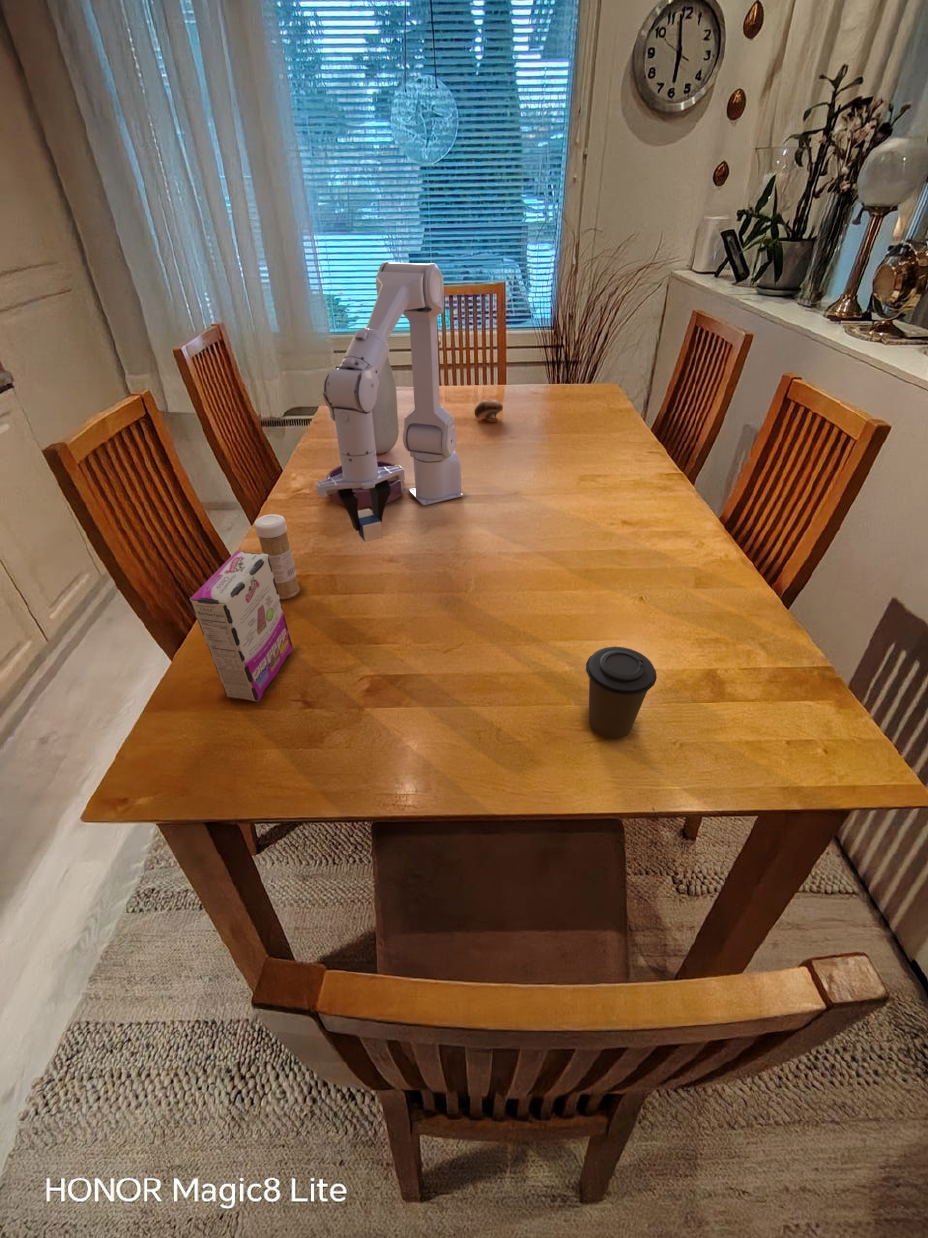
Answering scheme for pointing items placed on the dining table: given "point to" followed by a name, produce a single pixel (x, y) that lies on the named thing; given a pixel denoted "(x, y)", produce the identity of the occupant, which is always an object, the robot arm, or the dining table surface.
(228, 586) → the candy bar box
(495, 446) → the dining table surface
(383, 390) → the white tall rounded piece
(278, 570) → the sprinkles bottle
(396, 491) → the bowl
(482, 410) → the mushroom
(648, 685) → the coffee cup
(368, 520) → the eraser
